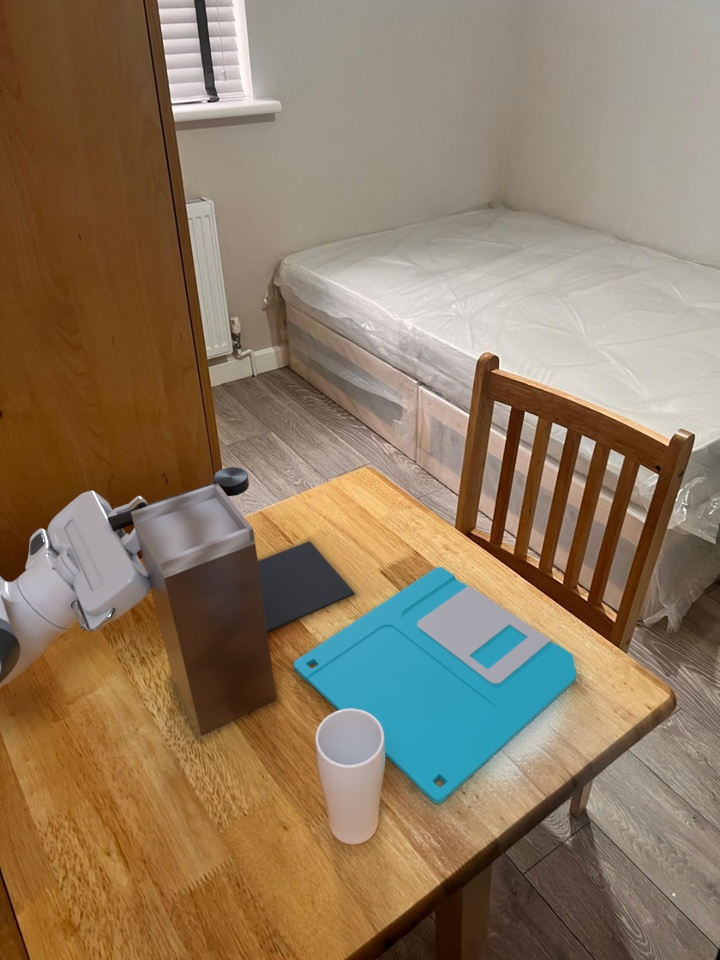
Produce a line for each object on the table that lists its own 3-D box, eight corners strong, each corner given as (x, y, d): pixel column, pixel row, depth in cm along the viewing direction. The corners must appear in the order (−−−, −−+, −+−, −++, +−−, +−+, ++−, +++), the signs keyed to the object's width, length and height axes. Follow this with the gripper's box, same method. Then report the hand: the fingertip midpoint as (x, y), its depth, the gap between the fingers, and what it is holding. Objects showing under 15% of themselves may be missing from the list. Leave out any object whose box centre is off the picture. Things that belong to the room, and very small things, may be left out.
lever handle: (116, 536, 87) (113, 526, 86) (105, 517, 90) (103, 507, 89) (254, 489, 94) (253, 479, 93) (240, 473, 97) (239, 463, 96)
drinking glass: (348, 867, 74) (344, 781, 66) (309, 819, 79) (300, 732, 70) (398, 826, 78) (400, 739, 69) (358, 782, 82) (354, 695, 74)
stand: (201, 736, 88) (160, 563, 72) (173, 680, 95) (130, 511, 79) (276, 700, 92) (253, 529, 76) (244, 648, 99) (217, 482, 83)
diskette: (291, 668, 96) (291, 663, 95) (439, 570, 111) (439, 565, 110) (437, 807, 79) (438, 802, 79) (587, 670, 94) (588, 665, 94)
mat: (199, 662, 97) (199, 660, 97) (165, 599, 107) (164, 597, 107) (354, 594, 107) (354, 592, 107) (309, 542, 117) (309, 540, 117)
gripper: (65, 628, 79) (160, 541, 80) (27, 528, 94) (109, 455, 95) (105, 651, 84) (195, 568, 85) (63, 552, 98) (141, 482, 99)
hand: (149, 508), depth 90 cm, fingers closed on lever handle, 2 cm apart
